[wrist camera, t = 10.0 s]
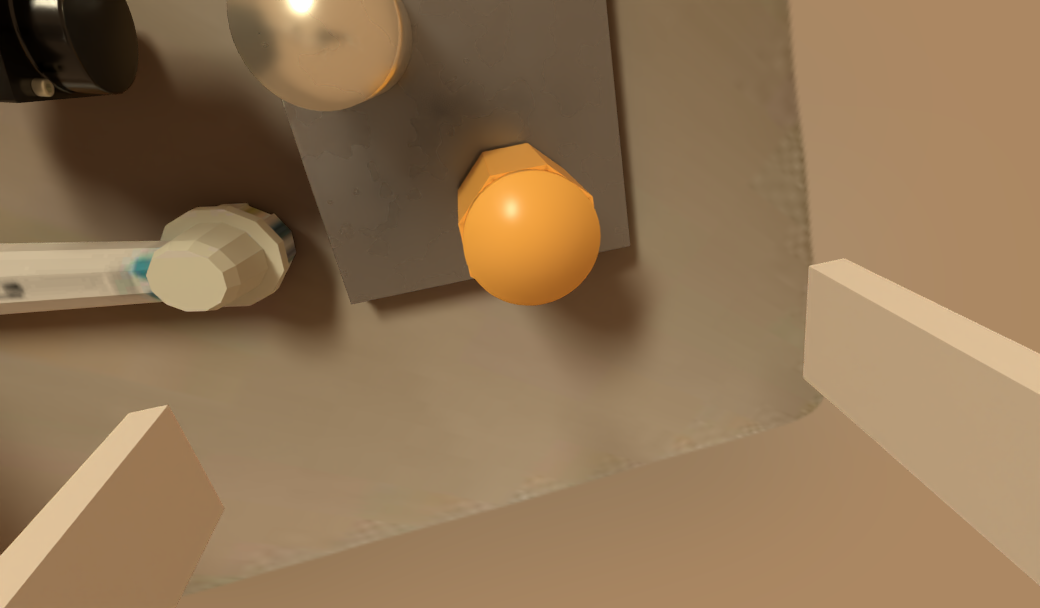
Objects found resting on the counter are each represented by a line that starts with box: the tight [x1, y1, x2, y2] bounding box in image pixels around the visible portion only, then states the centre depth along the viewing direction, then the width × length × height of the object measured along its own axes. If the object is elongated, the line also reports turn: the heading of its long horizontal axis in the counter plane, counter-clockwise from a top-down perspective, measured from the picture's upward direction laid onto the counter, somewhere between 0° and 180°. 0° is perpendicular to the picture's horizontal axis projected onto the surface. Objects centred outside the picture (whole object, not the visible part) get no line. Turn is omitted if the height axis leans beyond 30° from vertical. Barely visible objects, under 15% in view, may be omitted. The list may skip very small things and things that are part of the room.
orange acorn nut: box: [458, 143, 601, 306], centre depth 25 cm, size 6×6×7 cm
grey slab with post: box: [227, 0, 630, 304], centre depth 25 cm, size 16×16×9 cm
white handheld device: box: [0, 203, 296, 315], centre depth 28 cm, size 5×7×25 cm
